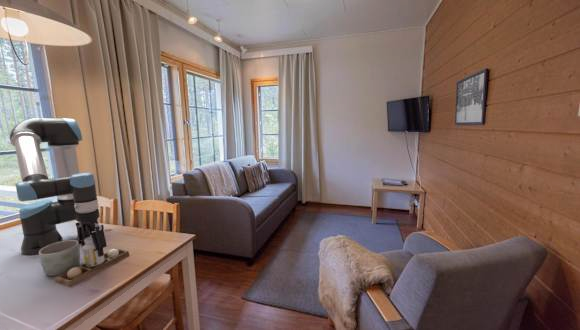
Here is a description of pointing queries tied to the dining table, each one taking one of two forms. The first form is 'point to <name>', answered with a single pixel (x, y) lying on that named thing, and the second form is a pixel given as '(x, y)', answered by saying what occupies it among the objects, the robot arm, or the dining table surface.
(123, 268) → the dining table surface
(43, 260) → the planter
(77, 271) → the brown egg ball
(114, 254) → the white egg ball
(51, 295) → the dining table surface
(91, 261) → the pill bottle
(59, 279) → the caddy
